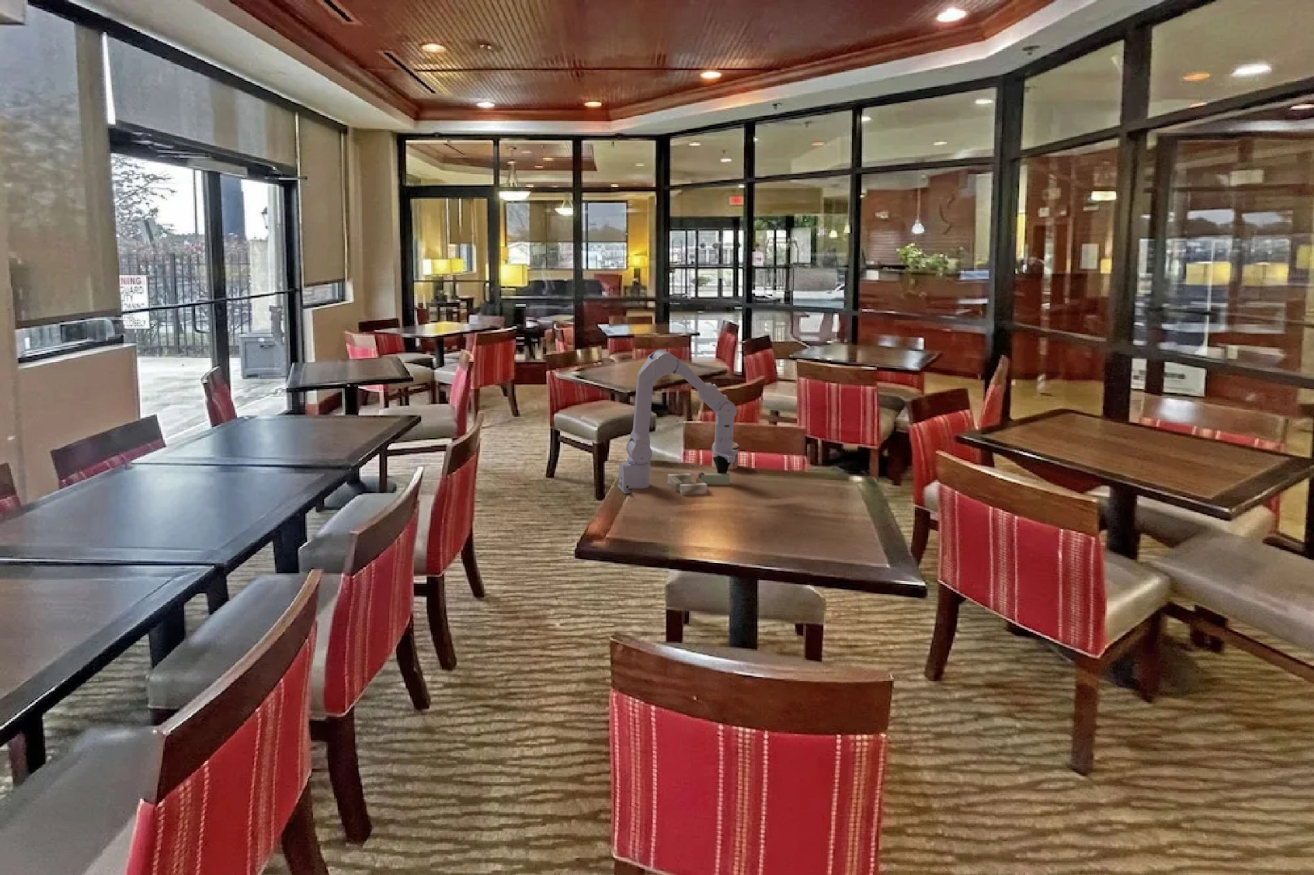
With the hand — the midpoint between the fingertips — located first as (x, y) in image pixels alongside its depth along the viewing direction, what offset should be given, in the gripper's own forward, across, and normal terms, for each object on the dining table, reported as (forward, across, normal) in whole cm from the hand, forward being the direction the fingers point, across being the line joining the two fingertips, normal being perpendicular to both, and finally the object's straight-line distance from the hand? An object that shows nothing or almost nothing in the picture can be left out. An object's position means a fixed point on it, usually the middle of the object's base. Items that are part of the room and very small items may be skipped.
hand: (721, 478), depth 286 cm
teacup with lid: (+3, +20, -9) cm, 22 cm away
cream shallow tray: (+2, -4, +11) cm, 12 cm away
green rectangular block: (+1, -1, +3) cm, 4 cm away
